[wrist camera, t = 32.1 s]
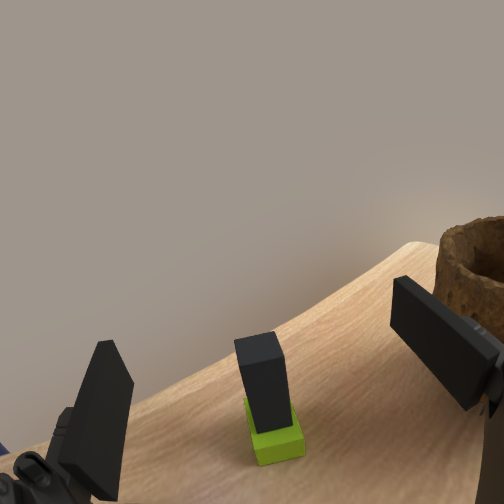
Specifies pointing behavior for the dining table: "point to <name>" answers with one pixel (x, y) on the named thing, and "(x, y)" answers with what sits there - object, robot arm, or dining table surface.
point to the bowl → (474, 273)
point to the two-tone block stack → (268, 399)
